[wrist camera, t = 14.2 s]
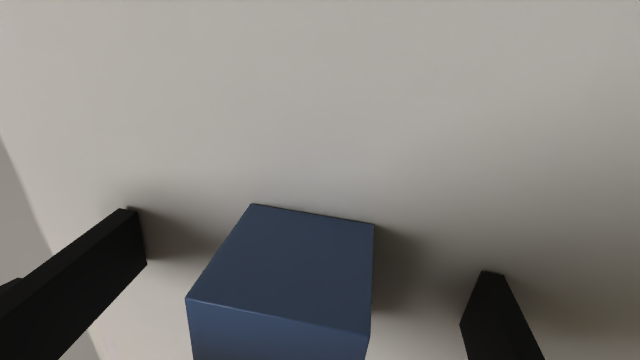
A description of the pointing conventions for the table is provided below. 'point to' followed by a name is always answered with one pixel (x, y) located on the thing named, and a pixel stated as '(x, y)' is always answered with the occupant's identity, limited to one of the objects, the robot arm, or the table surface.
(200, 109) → the table surface
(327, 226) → the blue block
